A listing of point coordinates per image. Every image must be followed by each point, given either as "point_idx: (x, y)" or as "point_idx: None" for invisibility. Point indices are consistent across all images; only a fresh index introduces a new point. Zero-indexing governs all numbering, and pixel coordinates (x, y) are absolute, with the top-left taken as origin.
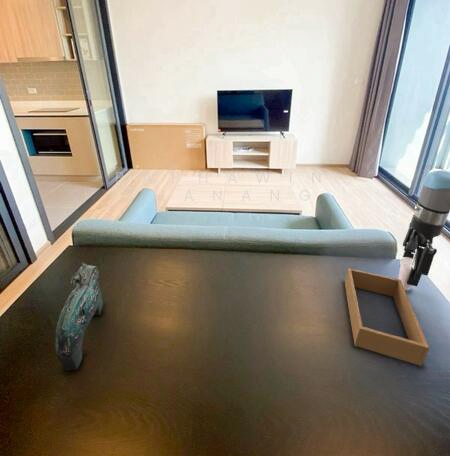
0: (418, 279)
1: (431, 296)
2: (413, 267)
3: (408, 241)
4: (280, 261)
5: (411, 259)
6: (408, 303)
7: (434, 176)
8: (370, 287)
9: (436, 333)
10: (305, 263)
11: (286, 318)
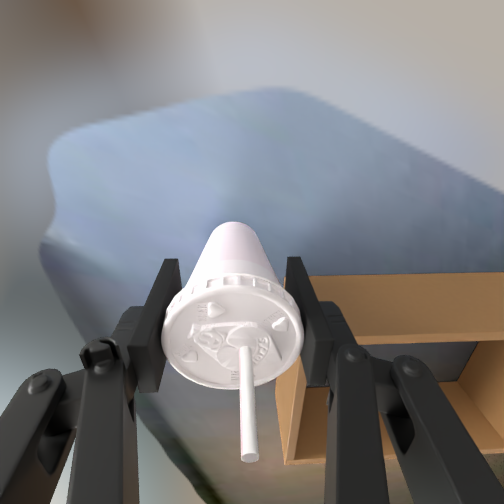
0: (338, 312)
1: (245, 127)
2: (275, 350)
3: (44, 488)
4: (246, 490)
5: (177, 334)
6: (437, 340)
7: None
8: None
9: (433, 187)
10: (231, 458)
11: (400, 467)
